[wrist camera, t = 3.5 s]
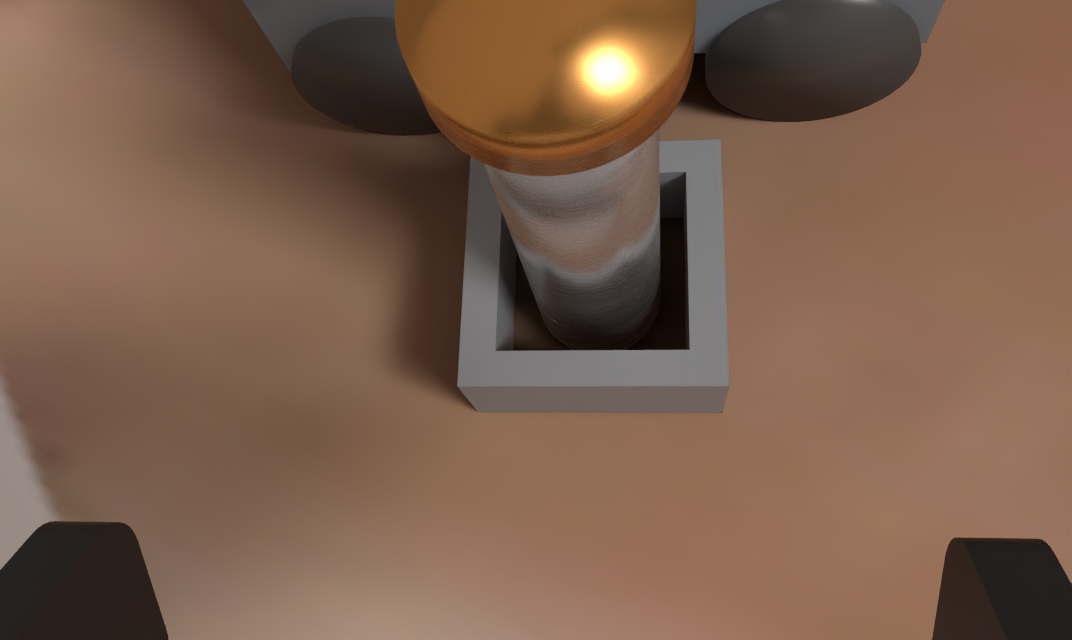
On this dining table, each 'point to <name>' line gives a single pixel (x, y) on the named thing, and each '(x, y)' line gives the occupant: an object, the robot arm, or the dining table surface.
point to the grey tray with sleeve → (685, 174)
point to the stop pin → (563, 139)
